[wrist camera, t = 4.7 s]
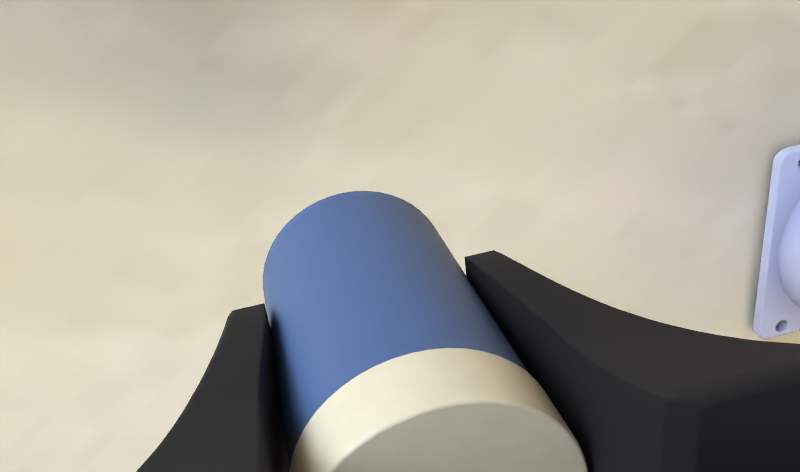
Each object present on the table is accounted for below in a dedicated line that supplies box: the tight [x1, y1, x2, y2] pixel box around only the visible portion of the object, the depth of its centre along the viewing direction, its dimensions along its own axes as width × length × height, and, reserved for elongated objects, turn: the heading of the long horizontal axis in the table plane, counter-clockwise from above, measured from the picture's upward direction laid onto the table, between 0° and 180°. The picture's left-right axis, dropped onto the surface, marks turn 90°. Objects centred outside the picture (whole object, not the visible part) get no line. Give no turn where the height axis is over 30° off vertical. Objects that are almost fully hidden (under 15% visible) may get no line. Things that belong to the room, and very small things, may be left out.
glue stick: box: [263, 191, 588, 472], centre depth 13 cm, size 4×4×7 cm
